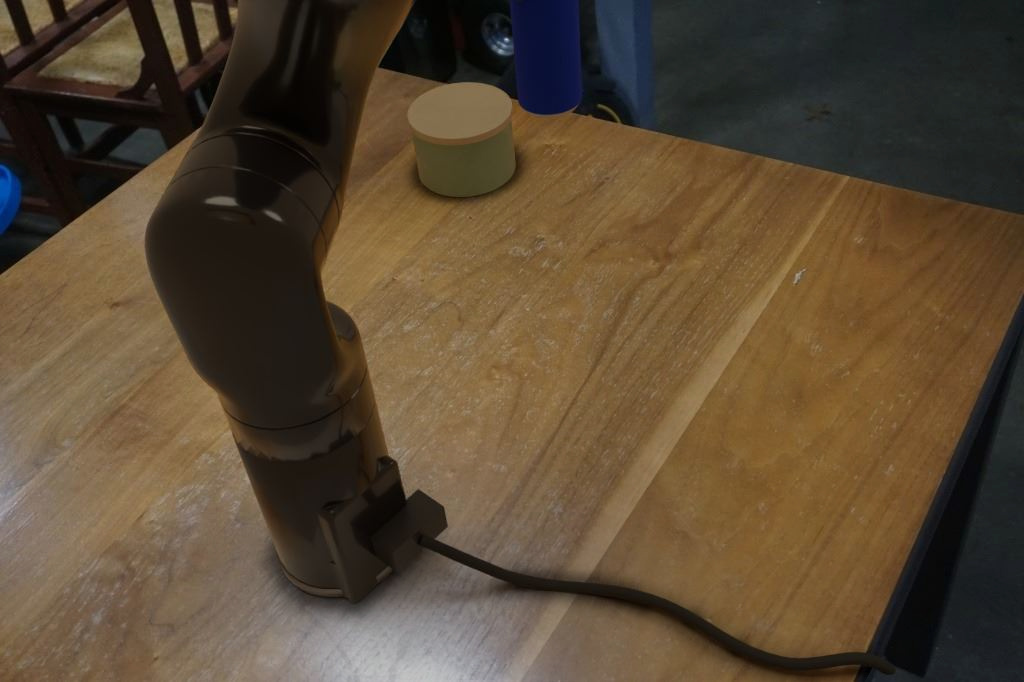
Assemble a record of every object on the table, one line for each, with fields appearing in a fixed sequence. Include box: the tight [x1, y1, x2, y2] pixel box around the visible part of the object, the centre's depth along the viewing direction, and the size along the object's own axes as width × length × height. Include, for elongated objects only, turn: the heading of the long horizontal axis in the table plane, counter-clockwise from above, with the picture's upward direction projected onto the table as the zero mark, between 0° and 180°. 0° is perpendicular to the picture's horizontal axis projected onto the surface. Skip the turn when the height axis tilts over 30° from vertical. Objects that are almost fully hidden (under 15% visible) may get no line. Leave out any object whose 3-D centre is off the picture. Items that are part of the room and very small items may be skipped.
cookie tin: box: [406, 81, 517, 198], centre depth 111 cm, size 10×10×7 cm
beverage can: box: [509, 0, 583, 120], centre depth 84 cm, size 5×5×15 cm
